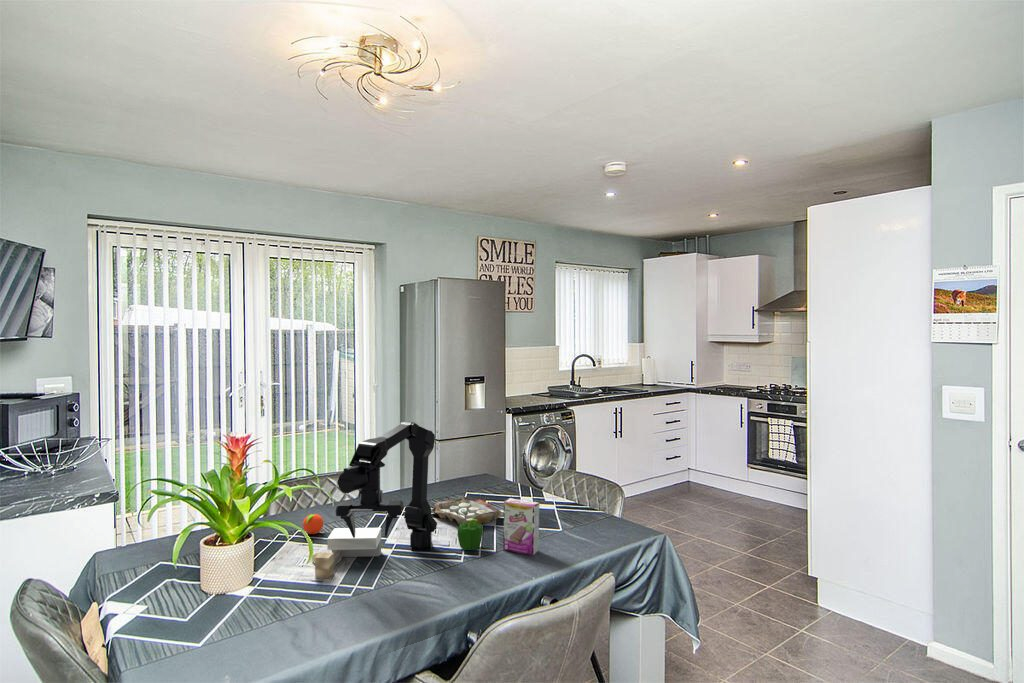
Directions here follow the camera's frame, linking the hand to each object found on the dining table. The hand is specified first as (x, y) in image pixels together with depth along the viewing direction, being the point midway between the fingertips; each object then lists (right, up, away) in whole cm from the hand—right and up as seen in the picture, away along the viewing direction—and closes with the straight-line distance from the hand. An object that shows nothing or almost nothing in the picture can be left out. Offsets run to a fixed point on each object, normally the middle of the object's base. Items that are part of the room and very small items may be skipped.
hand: (370, 537), depth 167 cm
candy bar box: (+45, -12, +21) cm, 51 cm away
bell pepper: (+28, -12, +23) cm, 38 cm away
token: (-19, -12, +12) cm, 25 cm away
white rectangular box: (-8, -12, +14) cm, 20 cm away
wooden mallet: (-14, -12, +7) cm, 19 cm away
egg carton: (+23, -11, +55) cm, 60 cm away
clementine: (-29, -11, +35) cm, 47 cm away
